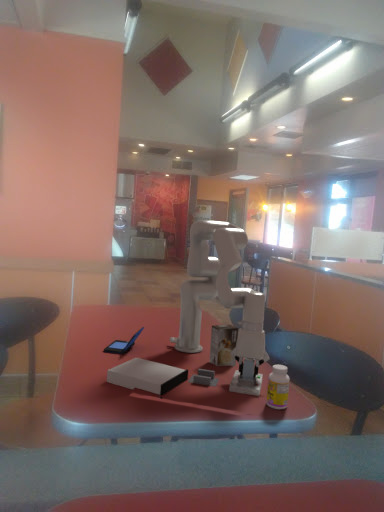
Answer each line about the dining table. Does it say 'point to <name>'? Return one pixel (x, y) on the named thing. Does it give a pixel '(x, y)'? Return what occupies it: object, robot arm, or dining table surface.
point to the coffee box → (223, 345)
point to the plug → (248, 368)
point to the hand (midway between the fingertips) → (248, 374)
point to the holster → (204, 378)
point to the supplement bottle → (278, 387)
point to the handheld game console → (122, 344)
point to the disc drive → (147, 376)
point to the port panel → (246, 384)
